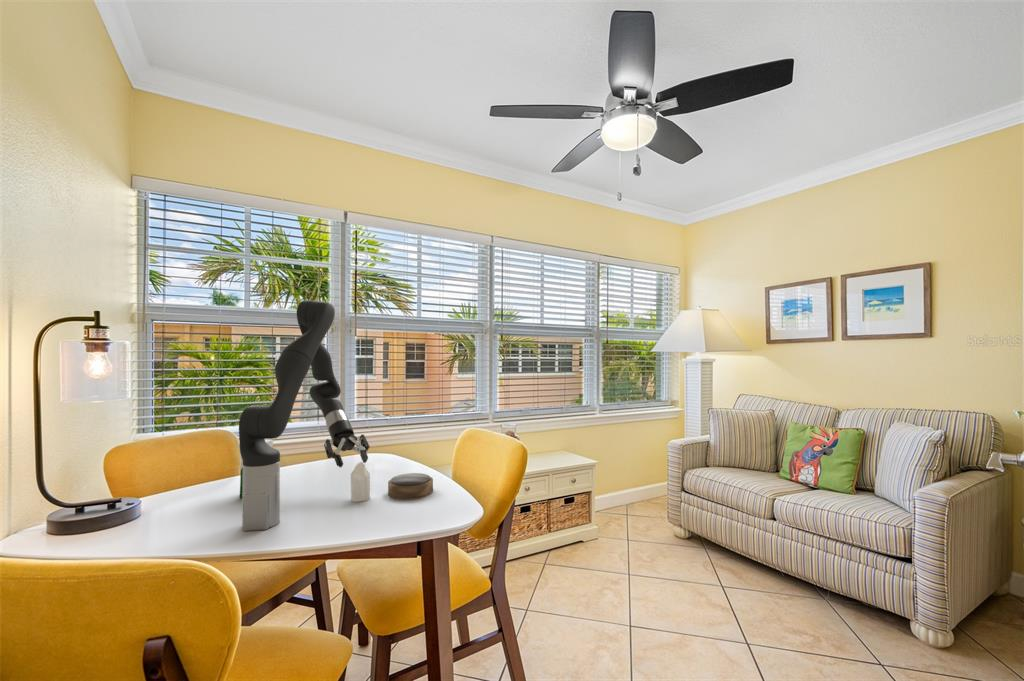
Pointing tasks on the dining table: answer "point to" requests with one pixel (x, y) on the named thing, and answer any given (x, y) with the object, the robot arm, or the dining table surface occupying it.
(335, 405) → the robot arm
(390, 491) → the podium
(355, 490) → the white tall rounded piece
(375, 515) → the dining table surface
